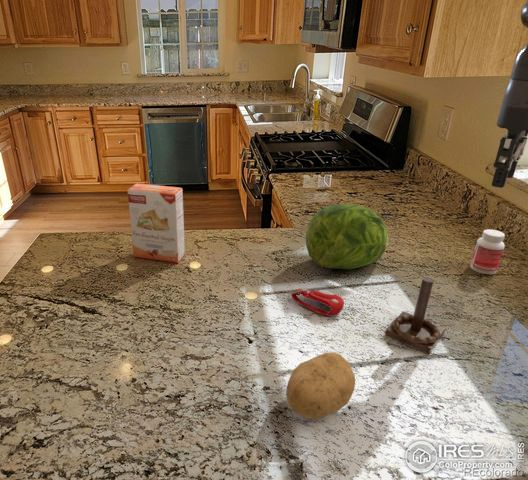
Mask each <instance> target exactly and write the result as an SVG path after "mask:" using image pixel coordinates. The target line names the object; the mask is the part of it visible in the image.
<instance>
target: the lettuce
mask: <svg viewBox="0 0 528 480" xmlns="http://www.w3.org/2000/svg"><path fill="white" fill-rule="evenodd" d="M388 245H389V232H388V229H387V226H386V223H385V222H384V221H383V219H382V217H380V215H378V214H377V213H376V212H375V211H374V210H372V209H369V208H367V207H365V206H362V205H360V204H353V203H352V204H351V203H333V204H329V205H327V206H326V207H324V208H321V209H319V210H318V211H317V212H316V213H315V214H313V215H312V217H311V219H310V220H309V222H308V223H307V226H306V231H305V247H306V250H307V254H308V256H309V258H311V260H312V261H313V262H314V263H315V264H317V265H318V266H320V267H321V268H326V269H327V268H328V269H341V270H355V269H359V268H362V267H365V266H368V265H371V264H374V263H376V262H378V260H380V259H381V257H382V256H383V255H384V254H385V252H386V250H387V248H388Z"/></svg>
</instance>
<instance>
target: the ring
mask: <svg viewBox="0 0 528 480" xmlns="http://www.w3.org/2000/svg"><path fill="white" fill-rule="evenodd" d="M413 316H414V314H412V315H403V316H399V315H398V316H397V317H396V318H395V319H394V320H393V321H392V322H393V327H394V330H395V331H396V332H397V333H398V334H399V335H400V336H401V337H402V338H404V339H407V340H409V341H411V342H414V343H420V344H429V343H433V342H436V341H437V340H438V338H439V337H440V332H439V329H438V327H437V326H436V325H435V324H436V323H434V322H433V321H431V320H429V319H427V318H425V317H424V321H423V324H425V325H427V326H428V327H429V328H430V329H431V330H432V331H433V335H432V336H431V337H427V338H421V337H414V336H412V335H410V334H408V333H405V332H404V331H403V330H402V329H401V328H400V325H399V324H400V323H401V322H403V321H408V320H409V321H412V320H413ZM433 323H434V324H433Z"/></svg>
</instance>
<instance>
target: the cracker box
mask: <svg viewBox="0 0 528 480" xmlns="http://www.w3.org/2000/svg"><path fill="white" fill-rule="evenodd" d="M183 191H184V190H183V188H182V187H177V186H167V185H157V184H147V183H137V182H135V184H133V185H132V186H131V187H129V188H128V189H127V200H128V210H129V220H130V221H129V222H130V230H131V243H132V252H133V257H135V258H141V259H149V260H153V261H154V260H155V261H161V262H167V263H174V264H179V262H180V261H181V260H182V259H183V257H184V256H185V255H186V249H185V247H186V246H185V219H184V196H183V195H184V193H183Z"/></svg>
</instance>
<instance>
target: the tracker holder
mask: <svg viewBox="0 0 528 480" xmlns="http://www.w3.org/2000/svg"><path fill="white" fill-rule="evenodd" d="M288 295H290V296H291V298H292V300H293V302H296V303H297V304H299V305H300V306H302V307H304V308H306V309H308V310H311V311H313V312H315V313H318V314H319V315H323V316H337V315H339V314H340V313H341V312H342V310H343V309H344V306H345V301H344V298H343V297H342V296H340V295H337V294H336V293H335V292H333V291H330V290H326V289H316V290H315V289H314V290H309V289H308V288H295V289H292V290H291V291H290V292H289V293H288ZM300 296H302V297H303V298H305V299H308V300H311V301H314V302H318V303H320V304H323V305H325V306H327V307H329V308H330V309H329V311H327V310H324V309H322V308H319V307H318V306H315V305H312V304H310V303H308V302H307V301H303V300H302V299H301V298H300Z"/></svg>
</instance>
